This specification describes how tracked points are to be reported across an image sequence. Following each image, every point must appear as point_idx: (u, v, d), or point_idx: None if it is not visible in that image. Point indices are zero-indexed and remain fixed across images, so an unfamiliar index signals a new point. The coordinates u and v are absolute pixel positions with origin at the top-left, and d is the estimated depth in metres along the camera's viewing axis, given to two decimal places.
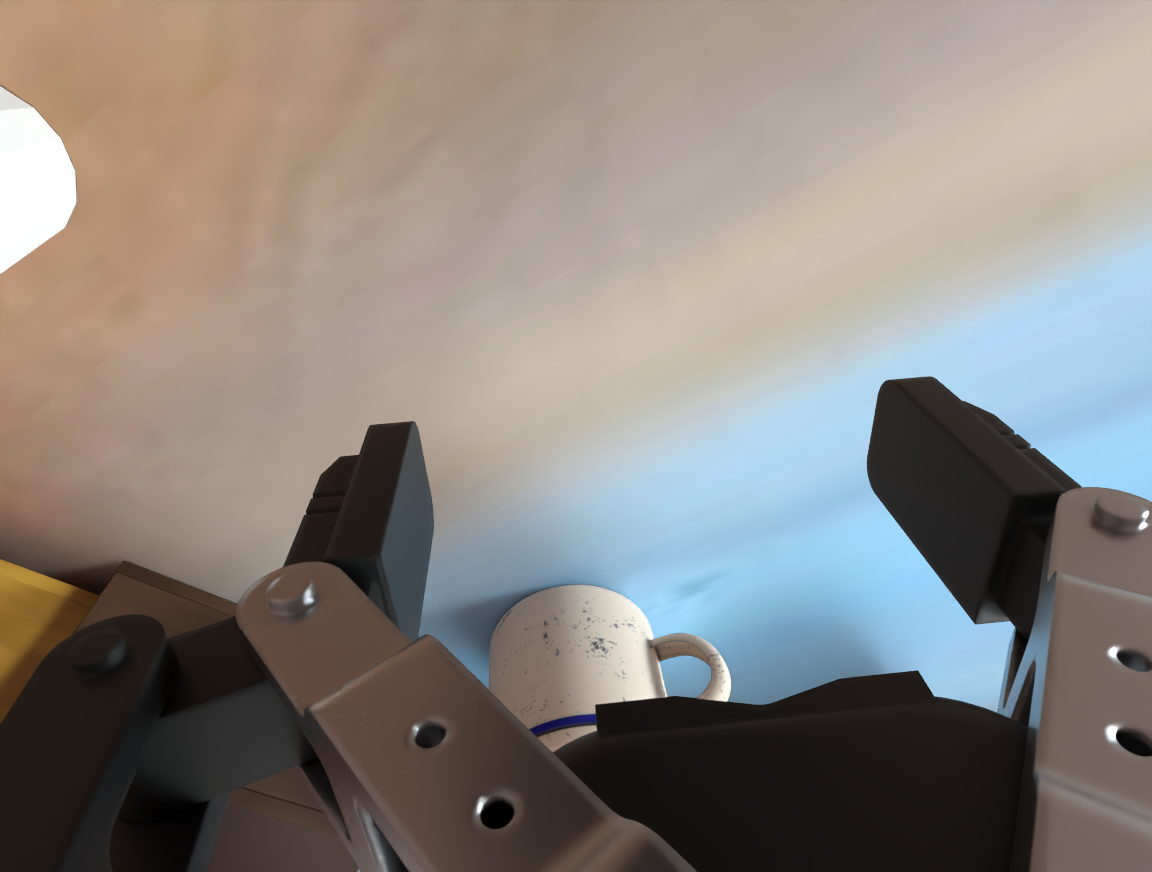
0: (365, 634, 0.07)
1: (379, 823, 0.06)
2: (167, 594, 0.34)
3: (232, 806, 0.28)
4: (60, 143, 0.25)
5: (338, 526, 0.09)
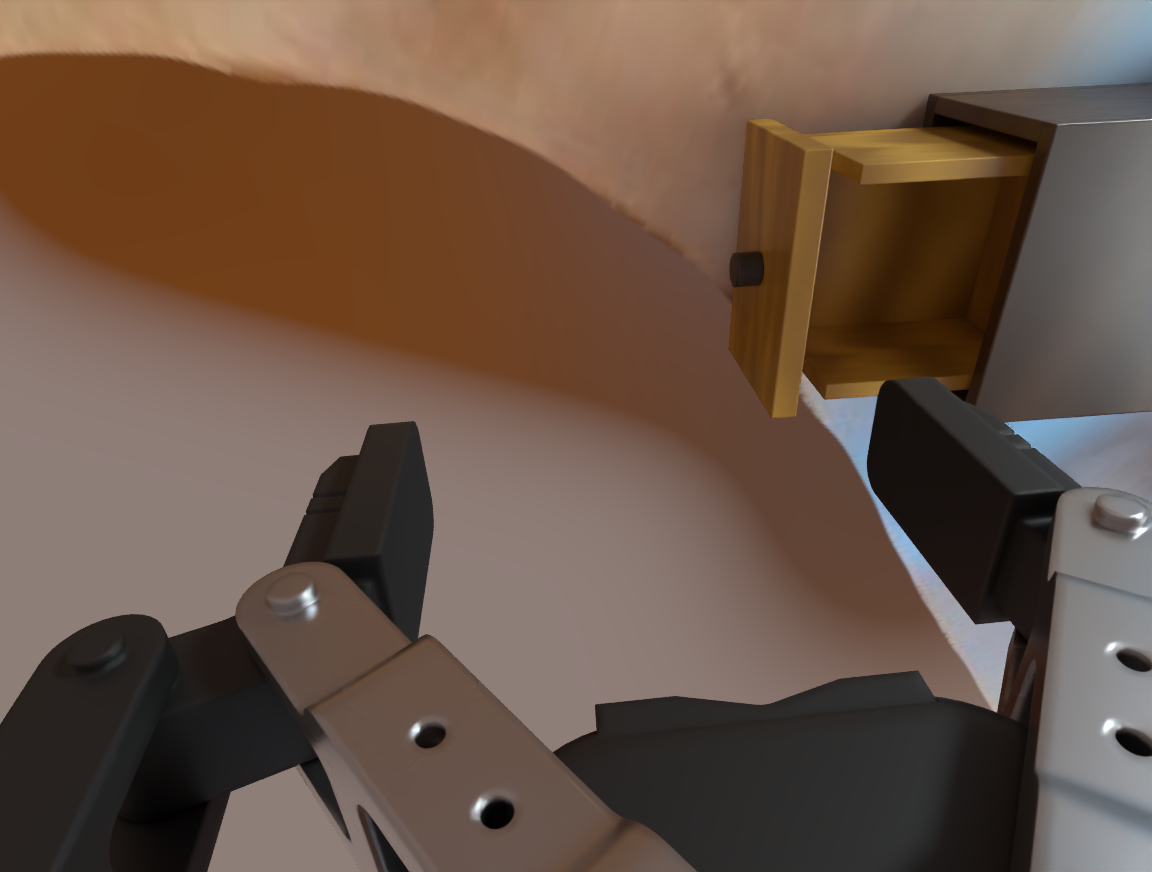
0: (365, 634, 0.07)
1: (379, 823, 0.06)
2: (988, 94, 0.35)
3: None
4: None
5: (338, 526, 0.09)
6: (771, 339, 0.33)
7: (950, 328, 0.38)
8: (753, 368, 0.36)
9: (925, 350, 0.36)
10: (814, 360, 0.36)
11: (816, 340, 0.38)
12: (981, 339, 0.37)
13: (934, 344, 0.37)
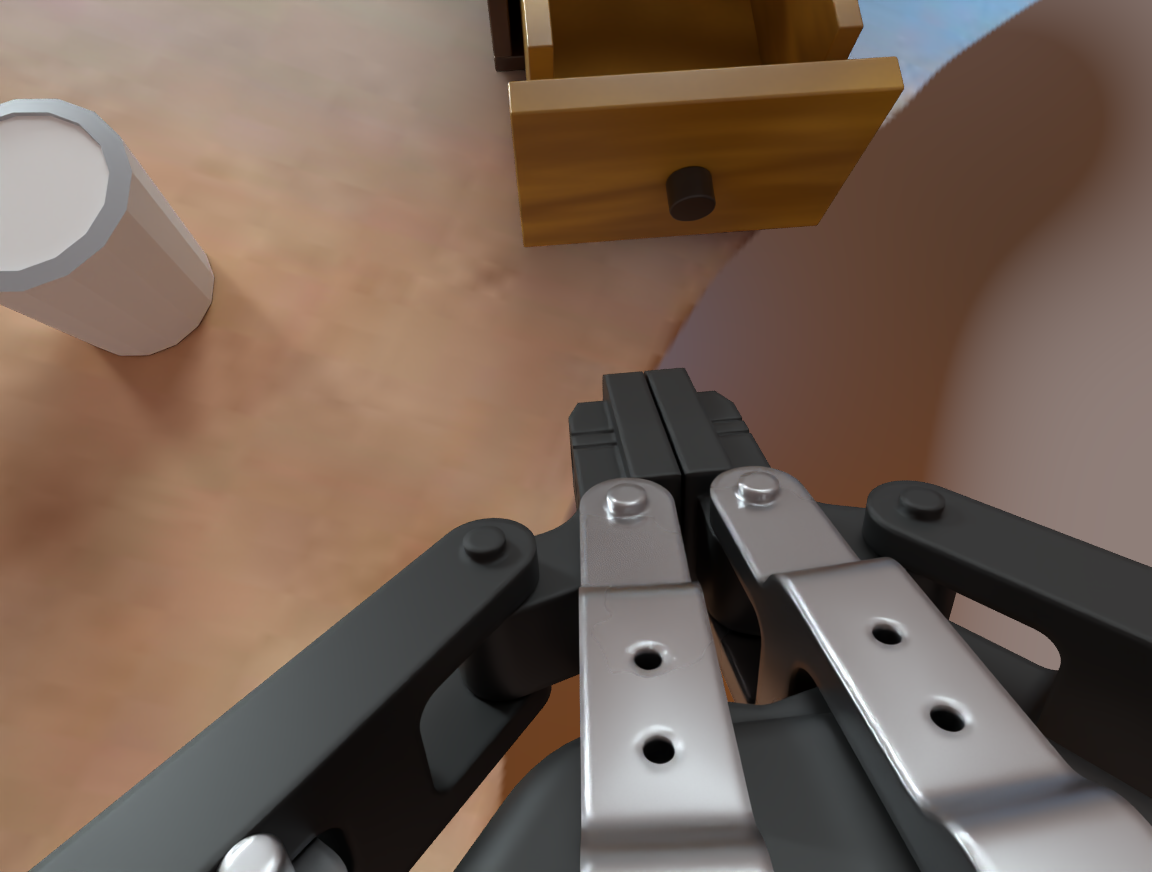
0: (661, 559, 0.08)
1: None
2: None
3: None
4: None
5: (627, 453, 0.10)
6: (778, 121, 0.23)
7: None
8: (833, 158, 0.25)
9: None
10: None
11: None
12: None
13: None
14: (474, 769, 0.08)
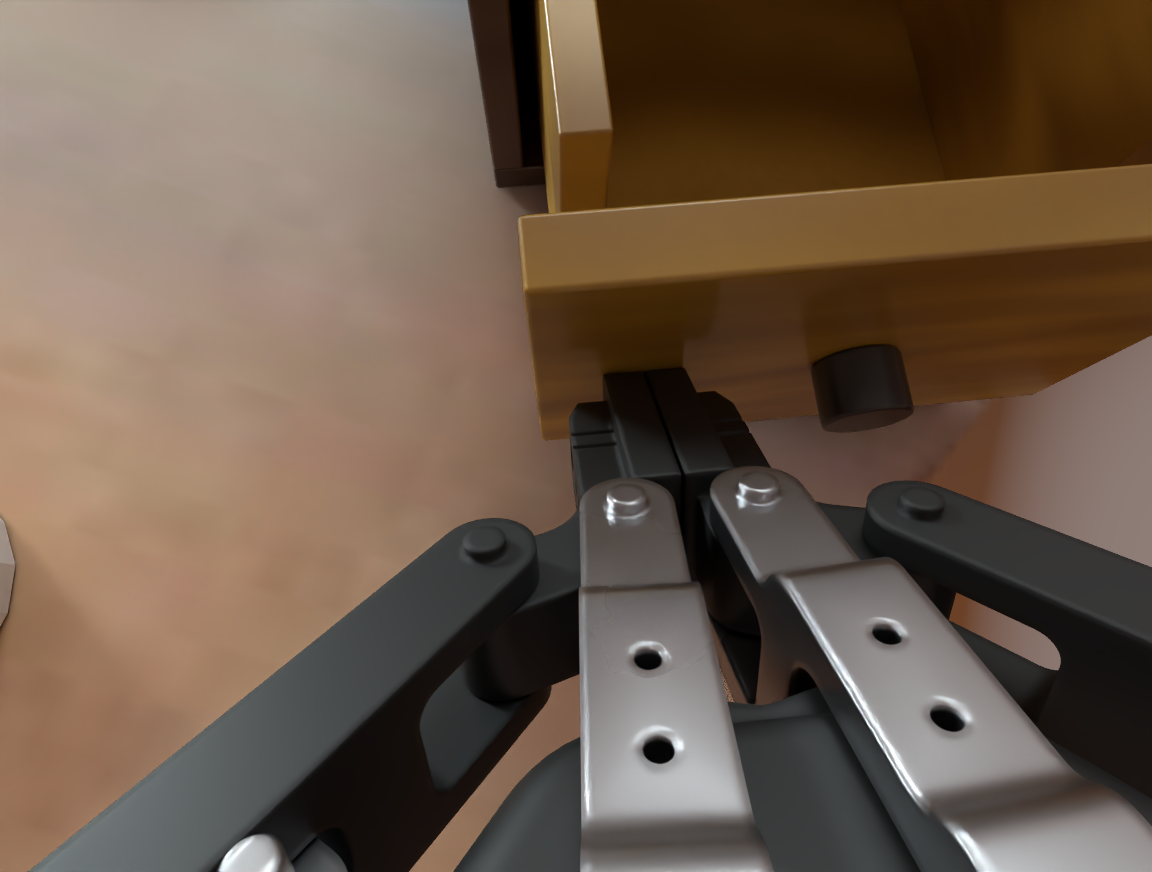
0: (661, 559, 0.08)
1: None
2: None
3: None
4: None
5: (628, 453, 0.10)
6: (1081, 279, 0.11)
7: None
8: (1135, 323, 0.13)
9: None
10: (1084, 169, 0.13)
11: None
12: None
13: None
14: (474, 769, 0.08)
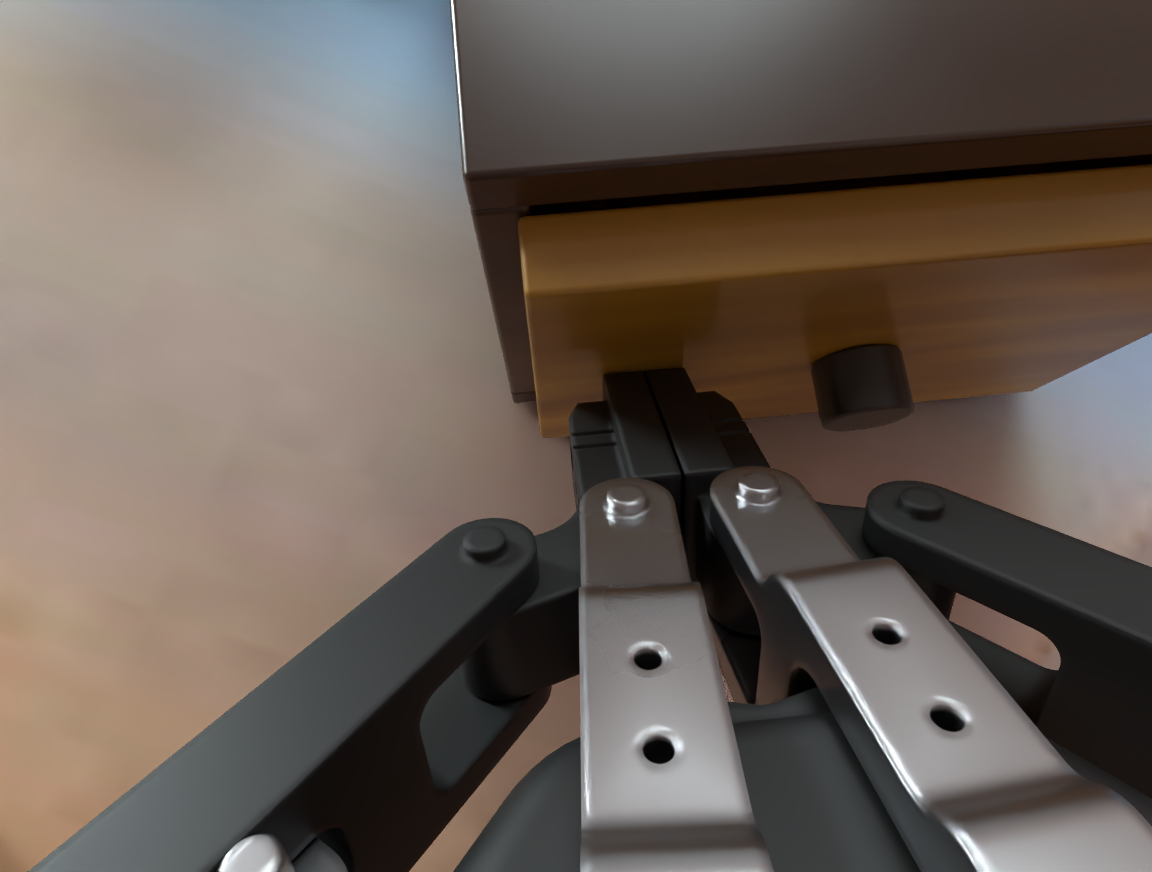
0: (661, 559, 0.08)
1: None
2: None
3: None
4: None
5: (627, 453, 0.10)
6: (1083, 279, 0.11)
7: None
8: (1135, 321, 0.13)
9: None
10: (1086, 167, 0.13)
11: None
12: None
13: None
14: (474, 769, 0.08)
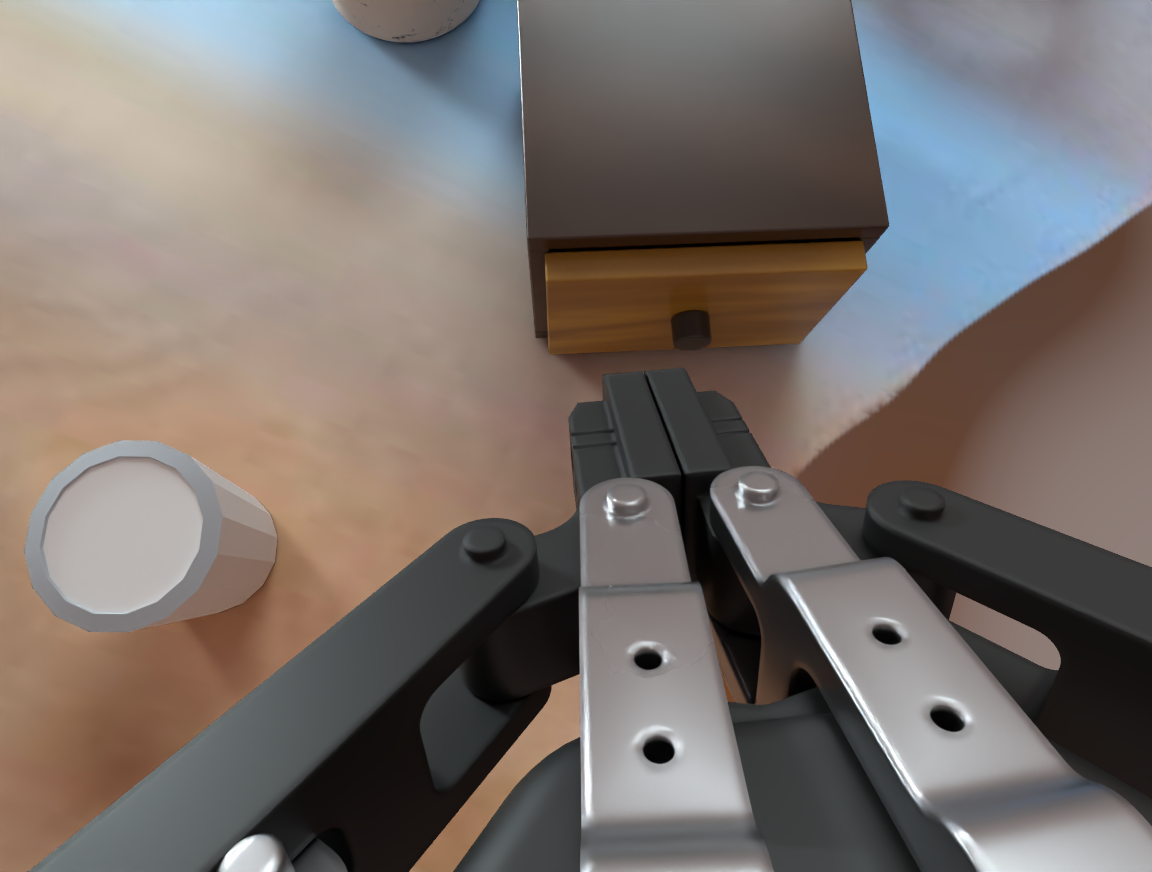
0: (661, 559, 0.08)
1: None
2: None
3: (521, 40, 0.28)
4: None
5: (627, 453, 0.10)
6: (764, 285, 0.28)
7: None
8: (811, 306, 0.30)
9: None
10: None
11: (777, 243, 0.32)
12: None
13: None
14: (474, 770, 0.08)
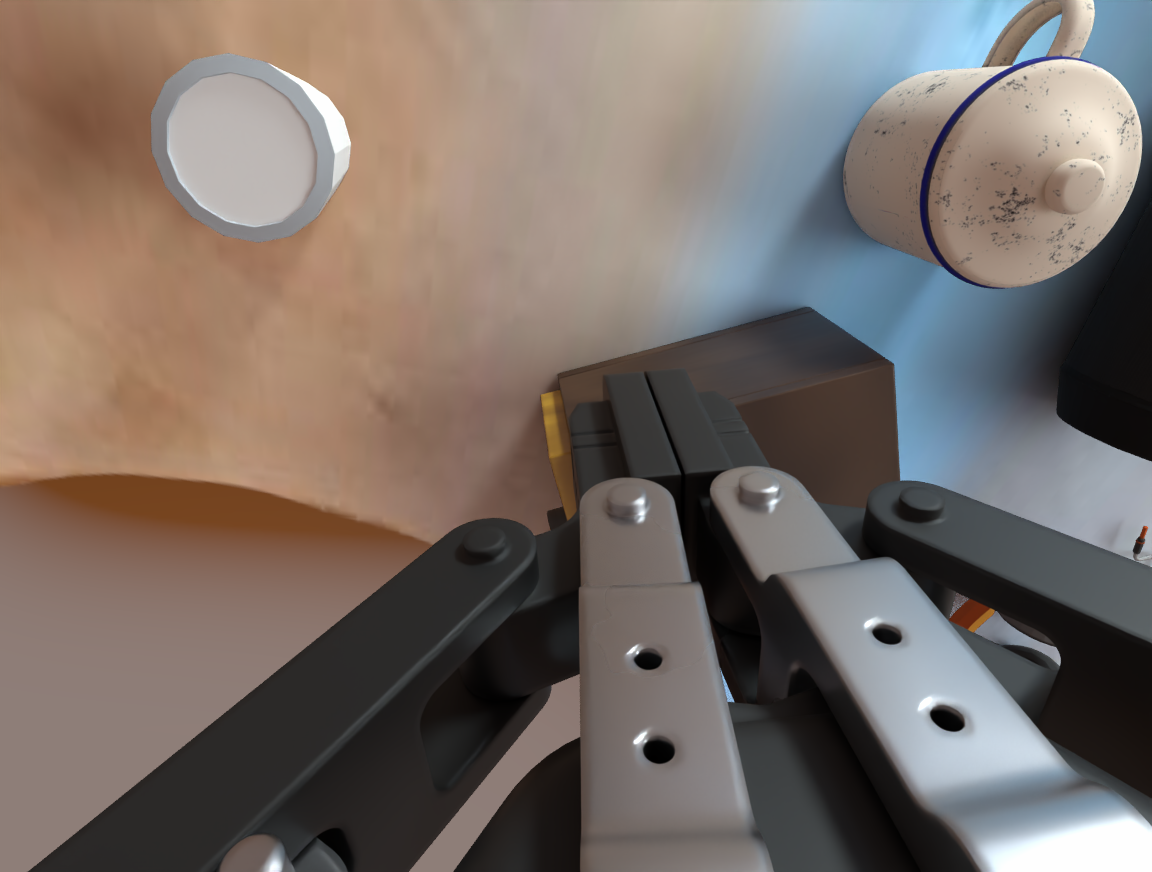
0: (661, 559, 0.08)
1: None
2: (600, 368, 0.40)
3: (757, 402, 0.32)
4: (308, 84, 0.33)
5: (627, 453, 0.10)
6: None
7: None
8: None
9: None
10: None
11: None
12: None
13: None
14: (474, 769, 0.08)
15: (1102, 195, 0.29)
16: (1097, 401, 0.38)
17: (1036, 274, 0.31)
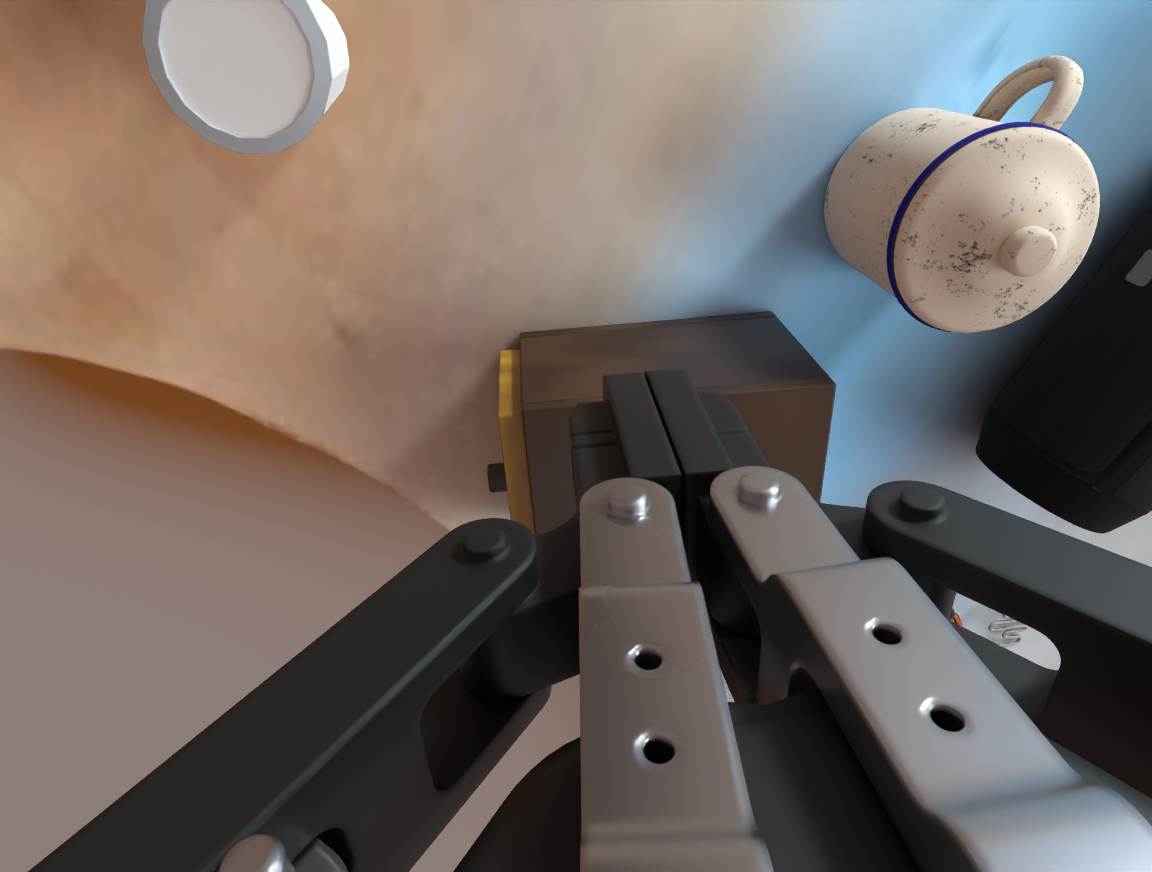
0: (661, 559, 0.08)
1: None
2: (562, 335, 0.41)
3: None
4: None
5: (627, 453, 0.10)
6: None
7: None
8: None
9: None
10: None
11: None
12: None
13: None
14: (474, 768, 0.08)
15: (1052, 263, 0.31)
16: (1012, 447, 0.41)
17: (980, 324, 0.33)
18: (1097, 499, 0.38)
